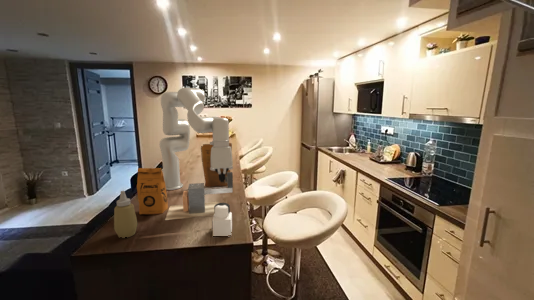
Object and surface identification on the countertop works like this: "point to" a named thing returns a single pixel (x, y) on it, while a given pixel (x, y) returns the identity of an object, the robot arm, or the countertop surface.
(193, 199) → the metal block
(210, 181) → the pancake mix bag
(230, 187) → the l-shaped metal bar
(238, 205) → the countertop surface
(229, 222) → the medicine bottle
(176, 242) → the countertop surface
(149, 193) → the coffee package
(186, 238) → the countertop surface
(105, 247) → the countertop surface
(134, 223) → the squeeze bottle
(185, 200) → the collar
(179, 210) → the board
